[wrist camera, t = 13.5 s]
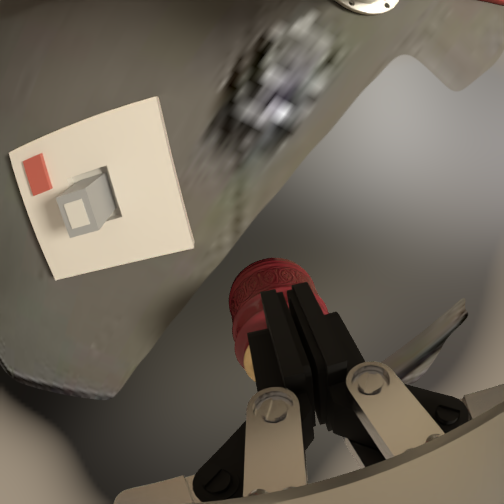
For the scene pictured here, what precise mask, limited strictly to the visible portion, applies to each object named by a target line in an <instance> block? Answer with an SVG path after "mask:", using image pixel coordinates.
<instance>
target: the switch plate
mask: <svg viewBox="0 0 504 504" xmlns="http://www.w3.org/2000/svg"><path fill="white" fill-rule="evenodd" d="M9 156H10V159H11V163H12V166H13V170H14V173H15V177H16V180H17V183H18V186H19V189H20V192H21V195H22V198H23V201H24V204H25V207H26V210H27V213H28V215H29V218H30V221H31V223H32V226H33V229H34V231H35V234H36V236H37V239H38V241H39V244H40V246H41V249H42V251H43V253H44V256H45V258H46V260H47V262H48V265H49V267H50V269H51V271H52V274H53V276H54V278H55V280H59V279H63V278H67V277H71V276H75V275H79V274H84V273H88V272H92V271H96V270H101V269H105V268H109V267H113V266H118V265H122V264H126V263H131V262H135V261H139V260H144V259H148V258H152V257H157V256H161V255H166V254H170V253H174V252H179V251H183V250H188V249H192V248H194V239H193V235H192V231H191V228H190V224H189V220H188V217H187V213H186V209H185V205H184V201H183V198H182V194H181V190H180V186H179V182H178V178H177V174H176V170H175V166H174V162H173V158H172V154H171V149H170V145H169V141H168V137H167V132H166V128H165V124H164V119H163V115H162V110H161V106H160V101H159V97H152V98H149V99H145V100H142V101H139V102H135V103H132V104H129V105H126V106H122V107H119V108H116V109H113V110H110V111H107V112H104V113H101V114H99V115H96V116H93V117H90V118H88V119H85V120H82V121H80V122H77V123H74V124H72V125H69V126H67V127H64V128H62V129H59V130H57V131H55V132H52V133H50V134H48V135H45V136H43V137H41V138H39V139H36V140H34V141H32V142H30V143H28V144H26V145H24V146H21V147H19V148H17V149H15V150H13V151H11V152H9ZM104 172H106V173H107V176H108V180H109V184H110V187H111V190H112V194H113V197H114V200H115V204H116V207H117V208H116V209H115V210H114V211H113V213H112V214H111V215H110V216H109V218H108V219H107V220H106V222H105V223H104V224H103V226H102V227H101V228H100V230H98V231H94V232H90V233H87V234H83V235H79V236H76V237H72V238H70V237H69V234H68V232H67V229H66V226H65V223H64V221H63V218H62V215H61V212H60V209H59V206H58V203H57V200H56V197H58V196H59V195H60V194H62V193H63V192H64V191H66V190H67V189H68V188H70V187H71V186H73V185H74V184H75V183H77V182H78V181H80V180H82V179H85V178H88V177H92V176H95V175H98V174H101V173H104Z"/></svg>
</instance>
